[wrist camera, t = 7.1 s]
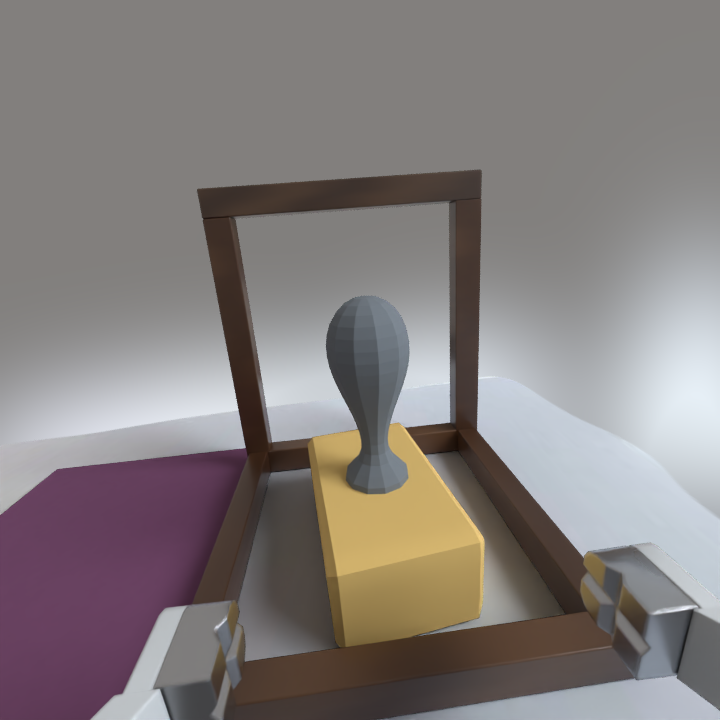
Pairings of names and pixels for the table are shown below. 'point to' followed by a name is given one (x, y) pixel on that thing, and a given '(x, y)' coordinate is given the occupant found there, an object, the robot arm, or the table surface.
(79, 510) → the felt pad
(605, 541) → the table surface
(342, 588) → the rubber stamp
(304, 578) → the table surface
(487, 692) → the stamp rack
